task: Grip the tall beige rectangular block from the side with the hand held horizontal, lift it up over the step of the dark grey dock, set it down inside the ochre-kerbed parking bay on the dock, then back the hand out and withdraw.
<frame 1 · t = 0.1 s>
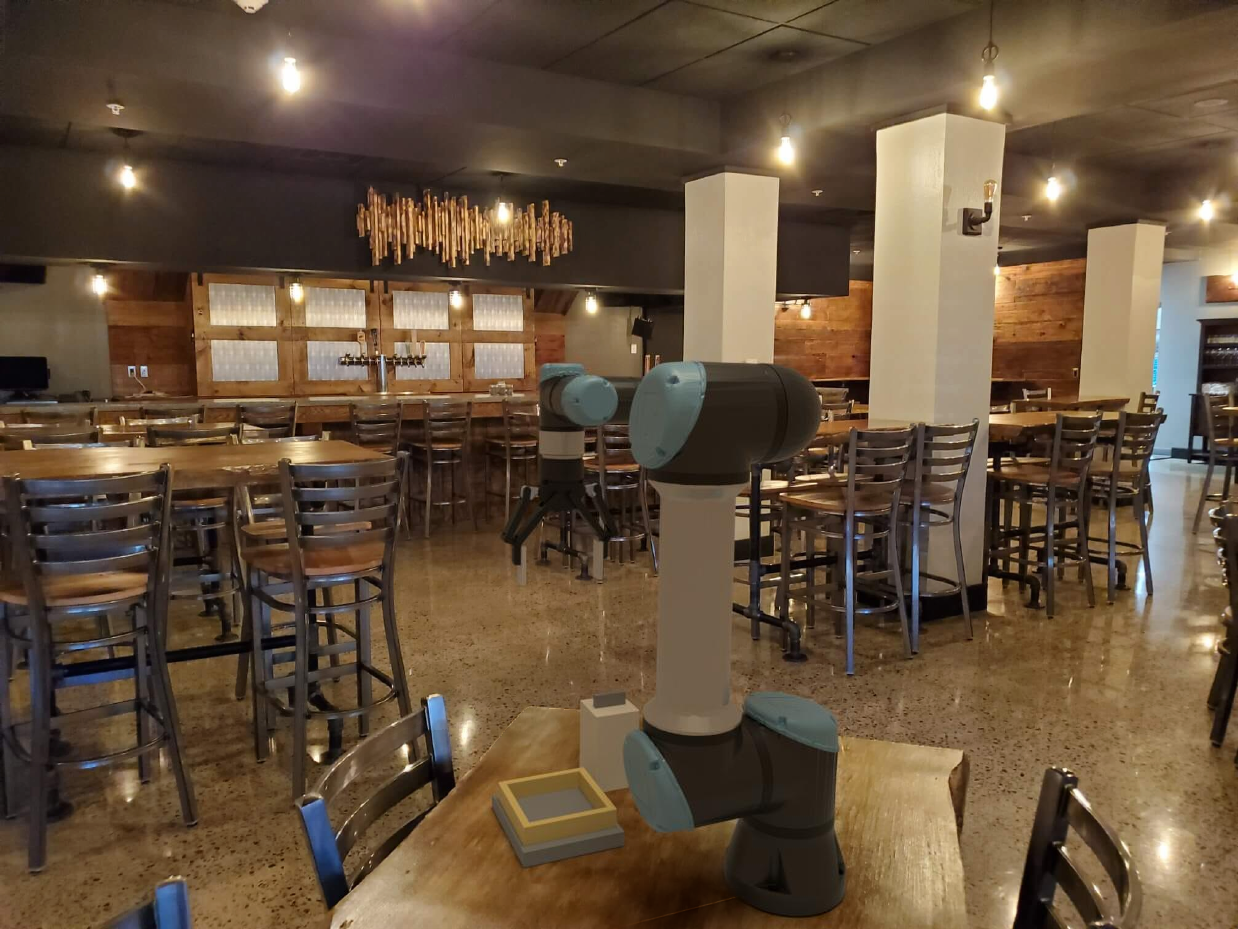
hand: (560, 581, 144), 28 cm above the table, tool pointing down, fingers open, 13 cm apart
beige rectangular block: (608, 779, 132), on the table
dock: (555, 826, 119), on the table
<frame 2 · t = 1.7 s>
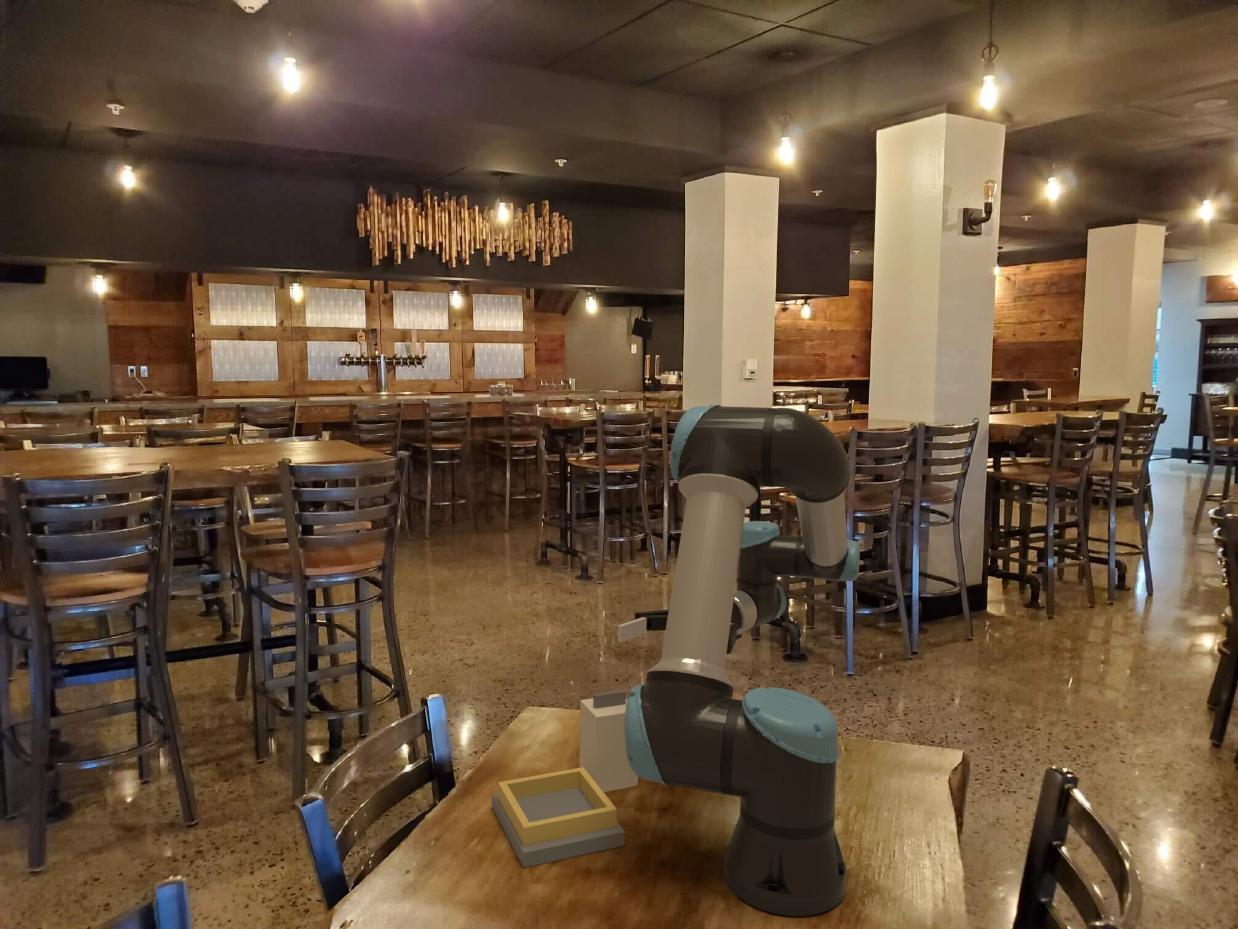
hand: (650, 643, 137), 20 cm above the table, tool horizontal, fingers open, 13 cm apart
nothing on the table moved.
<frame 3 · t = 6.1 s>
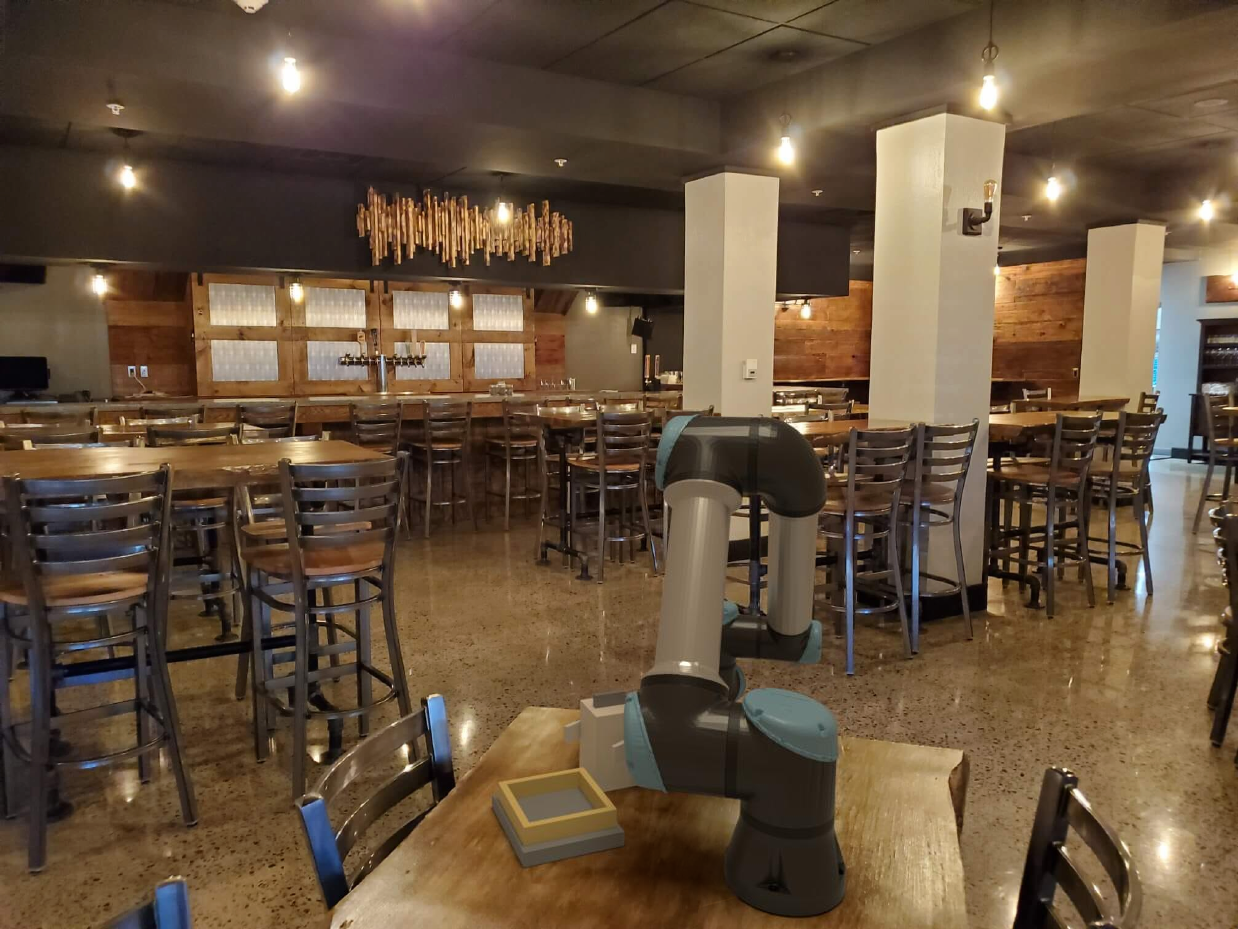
hand: (588, 745, 128), 7 cm above the table, tool horizontal, fingers closed on beige rectangular block, 9 cm apart
beige rectangular block: (608, 779, 132), on the table, touching gripper
when the fingers open (10 cm above the table, at t = 10.8 s): beige rectangular block drops 1 cm, resting on dock.
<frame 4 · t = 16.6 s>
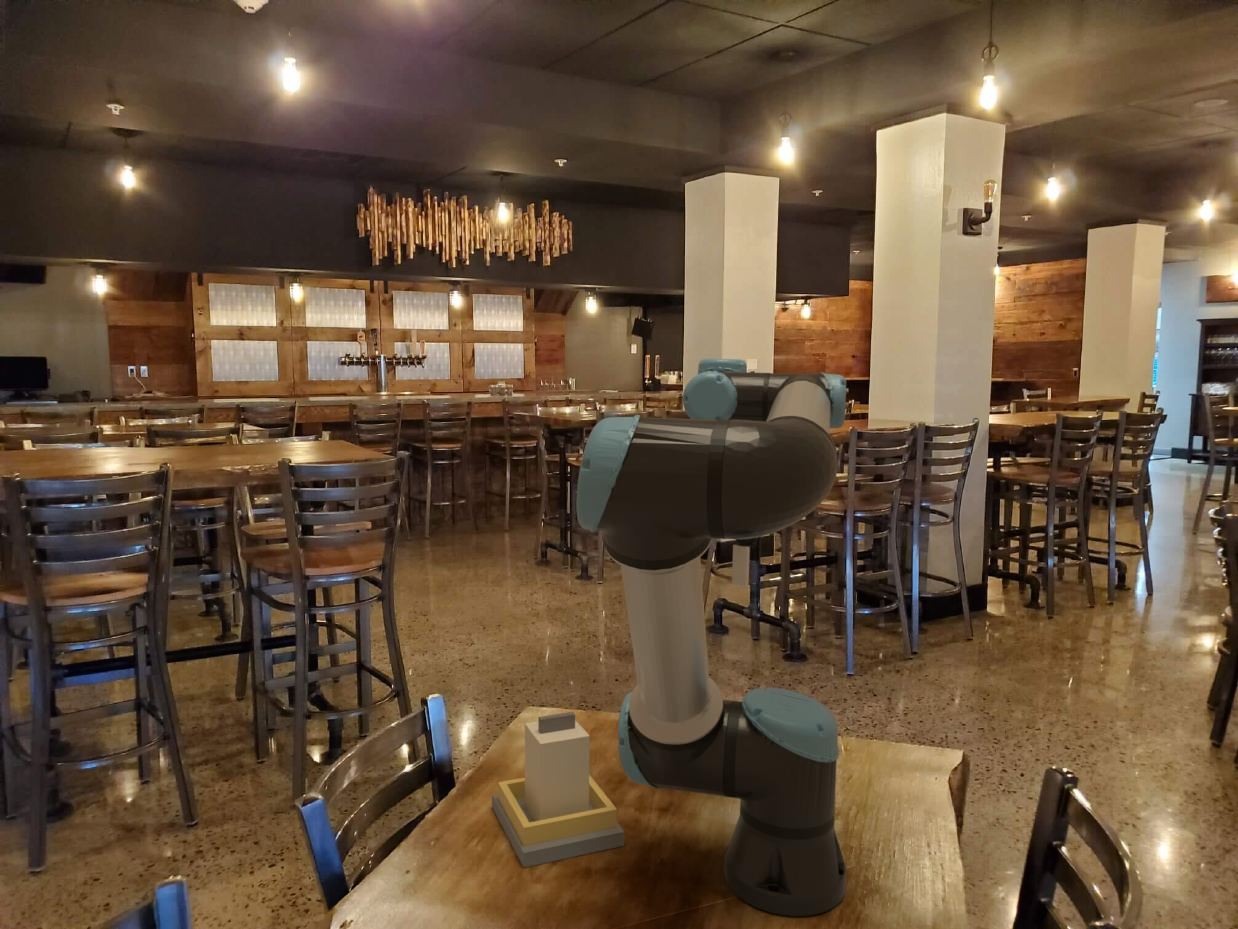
hand: (715, 593, 134), 29 cm above the table, tool pointing down, fingers open, 13 cm apart
beige rectangular block: (556, 812, 118), point 2 cm above the table, touching dock
at the end: beige rectangular block inside the target area on the dock (0.1 cm from its centre), point 2.0 cm above the dock's base; beige rectangular block tilted 0°; the gripper is holding nothing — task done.
